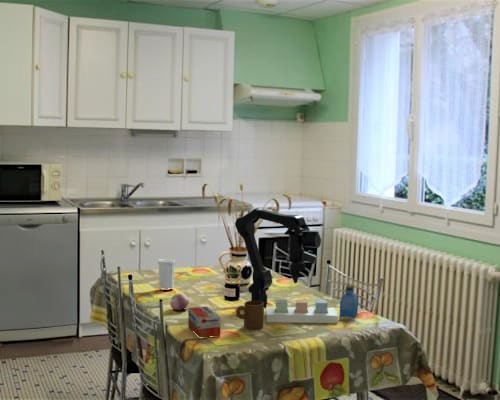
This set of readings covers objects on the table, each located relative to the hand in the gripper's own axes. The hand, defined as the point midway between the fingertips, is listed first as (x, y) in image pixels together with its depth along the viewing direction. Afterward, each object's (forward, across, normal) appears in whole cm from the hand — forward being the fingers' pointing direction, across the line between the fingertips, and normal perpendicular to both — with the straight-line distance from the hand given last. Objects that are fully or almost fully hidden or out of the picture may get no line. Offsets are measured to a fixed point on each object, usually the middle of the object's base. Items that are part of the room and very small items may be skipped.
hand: (295, 283), depth 274 cm
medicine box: (+12, -29, +37) cm, 48 cm away
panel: (+12, -10, -2) cm, 16 cm away
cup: (+12, +37, +57) cm, 69 cm away
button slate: (+9, -10, -10) cm, 17 cm away
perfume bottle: (+13, -4, -22) cm, 26 cm away
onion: (+12, +2, +48) cm, 50 cm away
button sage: (+9, -9, +6) cm, 15 cm away
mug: (+12, -23, +20) cm, 33 cm away
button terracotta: (+9, -10, -2) cm, 14 cm away
